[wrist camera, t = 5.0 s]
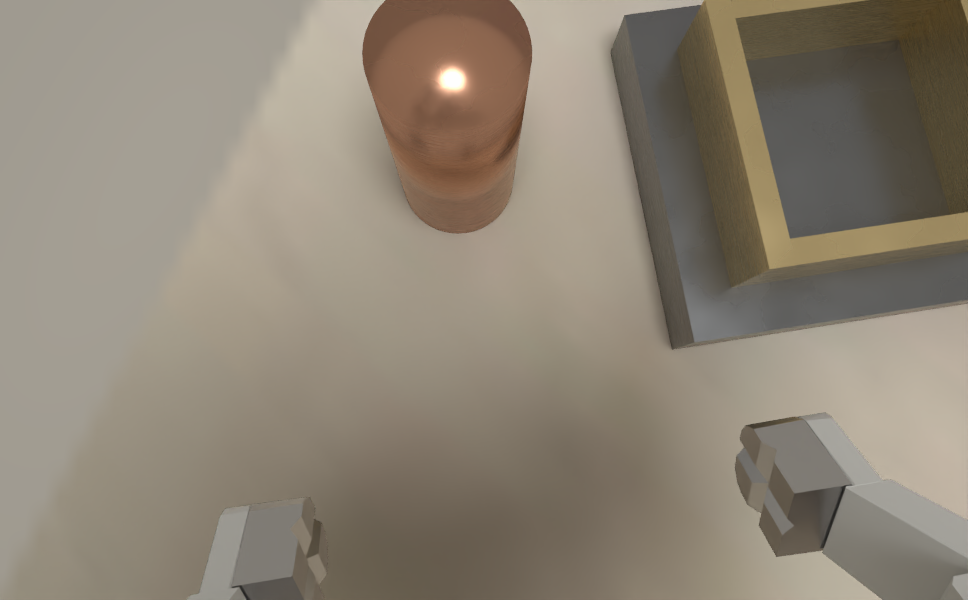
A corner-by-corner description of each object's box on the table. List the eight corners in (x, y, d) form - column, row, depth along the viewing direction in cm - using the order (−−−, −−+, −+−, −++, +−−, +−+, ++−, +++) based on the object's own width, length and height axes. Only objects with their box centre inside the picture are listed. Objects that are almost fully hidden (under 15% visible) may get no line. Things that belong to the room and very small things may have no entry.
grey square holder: (672, 349, 29) (728, 331, 22) (610, 52, 31) (645, -40, 25) (986, 300, 29) (1128, 269, 23) (900, 12, 32) (1007, -88, 25)
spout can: (411, 240, 30) (373, 142, 19) (390, 92, 31) (344, -80, 20) (520, 224, 30) (545, 118, 19) (495, 78, 31) (505, -101, 20)
